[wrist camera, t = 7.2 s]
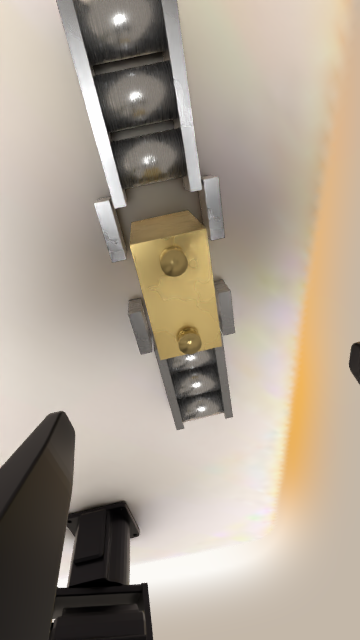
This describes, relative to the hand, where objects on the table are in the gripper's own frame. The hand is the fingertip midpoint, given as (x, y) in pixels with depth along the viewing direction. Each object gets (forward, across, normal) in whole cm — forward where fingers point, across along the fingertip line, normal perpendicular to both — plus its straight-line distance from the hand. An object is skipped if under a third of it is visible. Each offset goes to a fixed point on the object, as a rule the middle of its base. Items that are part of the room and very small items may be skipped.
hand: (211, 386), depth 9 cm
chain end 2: (+12, 0, +7) cm, 14 cm away
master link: (+12, 0, 0) cm, 12 cm away
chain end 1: (+12, 0, -7) cm, 14 cm away
